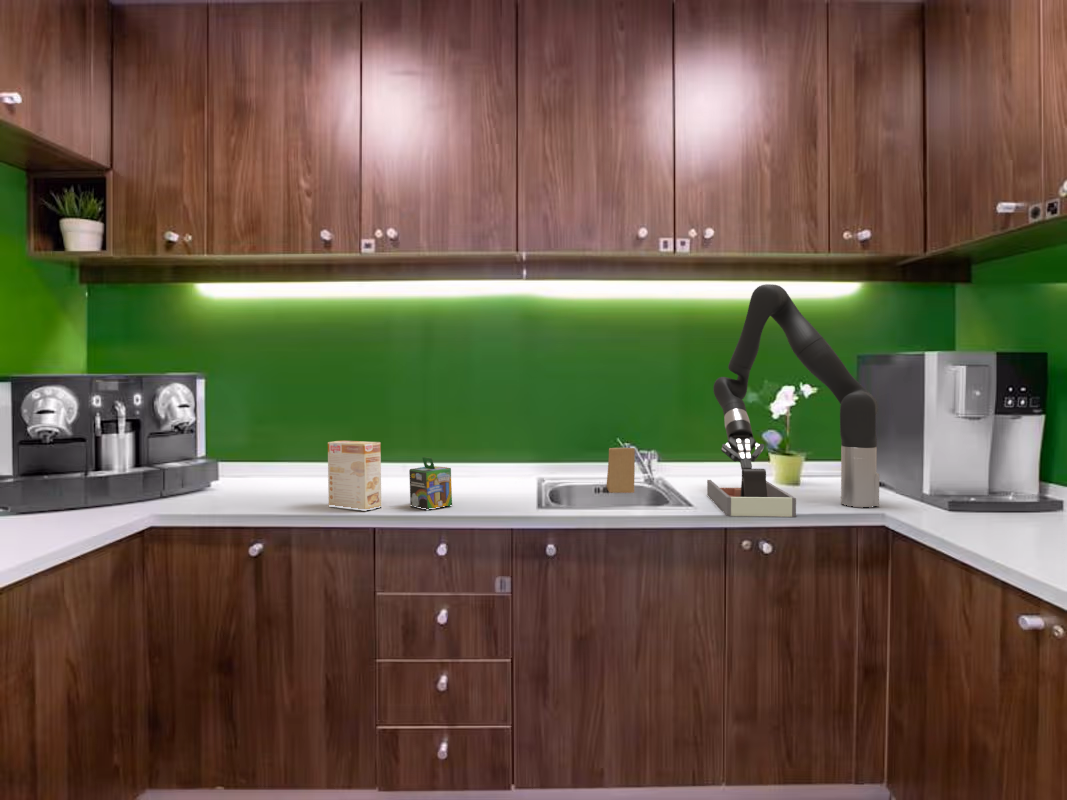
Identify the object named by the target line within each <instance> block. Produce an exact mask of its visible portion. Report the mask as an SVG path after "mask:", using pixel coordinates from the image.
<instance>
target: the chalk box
mask: <svg viewBox="0 0 1067 800" xmlns="http://www.w3.org/2000/svg"><path fill="white" fill-rule="evenodd" d="M422 461H423V465H424V466H421V467H417V468H410V469H409V499H410V501H409V502H410V503H409V505H412V506H416V507H421V508H426V509H429V508H436V507H443V506H449V507H451V506H450V505H452V506H453V496H452V495H453V494H452V491H453V490H452V467H447V466H446V467H445V466H438V465H437V466H436V465H434V460H433V458H432V457H428V456H427V457H426V456H423V457H422ZM427 462H429V463H430V465H429V464H428V463H427Z"/></svg>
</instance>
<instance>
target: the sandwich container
mask: <svg viewBox="0 0 1067 800" xmlns="http://www.w3.org/2000/svg"><path fill="white" fill-rule="evenodd" d="M635 449H636V448H635V447H609V449H608V464H607V476H606V489H607V491H608V492H609V493H611V494H612V493H613V494H616V493H617V494H623V493H625V494H626V493H629V494H631V493H632V494H633V493H635V472H636V471H635V470H636V469H635V468H636V467H635V465H636V464H635V457H636V456H635V452H636V451H635Z"/></svg>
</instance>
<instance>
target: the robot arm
mask: <svg viewBox="0 0 1067 800" xmlns="http://www.w3.org/2000/svg"><path fill="white" fill-rule="evenodd" d="M770 317H771V318H772V319H773V320H774V321H775V322H776V323H777V324H778V325H779V327H780V328H781V330H782V331H783V332H784V334H785V337H786V340H787V342H788V344H789V346H790V348H791V350H792V352H793V354H794V355H795V357H797V358H798V360H799V362H800V363H801V364H802V365H803V366H804V367H805V368H806V369H807V370H808V371H809V372H810V374H812V375H813V376H815V378H816V379H817V380H819V381H820V382H821V383H822V384H823V385H825V387H827V388H828V389H829V391H830V392H831V393H832V394H833V396H834V397H835V398H836V400H837V402H838V403H839V404H840V407H839V430H840V431H839V435H840V441H841V445H840V446H841V450H840V452H841V454H840V456H841V457H840V460H841V461H840V466H841V468H840V475H841V476H840V504H841V505H842V504H844V505H843V506H846V505H847V506H846V507H851V506H853V508H854V507H855V508H863V507H869V508H873V507H872V506H879V507H880V473H878V472H877V458H878V457H877V445H878V441H877V440H878V439H877V429H876V424H877V423H876V419H877V417H876V416H877V414H878V410H879V404H878V401H877V398H875V397H874V395H872V394H871V392H869V391H868V390H867V389H866V388H865V387H863V386H862V384H860V382H859V381H857V379H856V378H854V376H853V375H852V374H851V373H850V372H849V370H848V369H847V367H846V365H845V364H844V363H843V361H842V360H841V358H840V357H839V356H838V354H837V353H836V351H835V350H834V349H833V348H832V346H831V345H830V344H829V343H828V342H827V341H826V339H825V338H824V337H823V336H822V334H820V332H819V331H818V330H817V329H816V328H815V327H814V326H813V324H811V322H809V320H807V319H806V317H805V316H804V315H803V314H802V313H801V312H800V310H799V309H798V307H797V305H796V304H795V303H794V301H793V300H792V298H791V297H790V296H789V294H788V292H787V291H786V290H785V288H783V287H782V286H780V285H777V284H769V283H768V284H767V283H766V284H761V285H759V286H757V287H756V288H755V289H754V290H753V292H752V293H751V296H750V300H749V305H748V307H747V314H746V316H745V320H744V323H743V327H742V329H741V333H740V336H739V339H738V341H737V344H736V346H735V348H734V351H733V353H732V356H731V357H730V359H729V363H728V366H727V368H728V370H729V371H730V372H732V373H733V374H735V375H737V378H736V379H734V378H730V377H726V376H720V377H718V378H717V379H716V380H715V381H714V384H713V387H712V388H713V394H714V397H715V399H716V400H717V403H718V404H719V405H720V406H719V407H720V408H721V409H722V412H723V417H724V428H725V431H726V436H727V438H726V439H727V442H726V443H722V446H721V452H722V453H724V455H726V456H727V457H728V458H730V459H731V460H732V461H733V462H738V463H740V467H741V468H740V469H741V470H742V469H753V464H752V462H753V463H755V461H756V460H757V459H758V457H759V456H760V455H761V453H763V450H764V448H765V444H764V443H758V442H757V440H756V439H755V438H754V434H753V430H752V425H751V422H750V418H749V415H748V412H747V407H746V405H745V402H744V400H743V399H744V398H745V397H746V395H747V392H748V384H749V379H750V378H749V377H750V372H751V369H752V368H753V365H754V363H755V360H756V358H757V355H758V353H759V349H760V343H761V337H762V333H763V330H764V328H765V325H766V323H767V322H768V320H769V319H770ZM753 450H754V451H753ZM752 451H753V453H752V454H751V452H752Z"/></svg>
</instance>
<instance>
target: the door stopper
mask: <svg viewBox="0 0 1067 800" xmlns="http://www.w3.org/2000/svg"><path fill="white" fill-rule="evenodd" d="M766 470H767V469H766V468H752V469H741V485H740V488H741V494H740V497H767V486H766V481H767V472H766Z"/></svg>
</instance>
